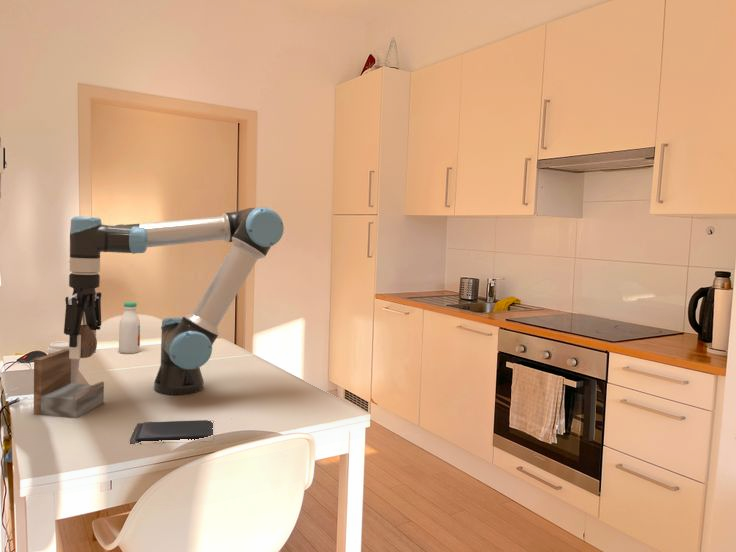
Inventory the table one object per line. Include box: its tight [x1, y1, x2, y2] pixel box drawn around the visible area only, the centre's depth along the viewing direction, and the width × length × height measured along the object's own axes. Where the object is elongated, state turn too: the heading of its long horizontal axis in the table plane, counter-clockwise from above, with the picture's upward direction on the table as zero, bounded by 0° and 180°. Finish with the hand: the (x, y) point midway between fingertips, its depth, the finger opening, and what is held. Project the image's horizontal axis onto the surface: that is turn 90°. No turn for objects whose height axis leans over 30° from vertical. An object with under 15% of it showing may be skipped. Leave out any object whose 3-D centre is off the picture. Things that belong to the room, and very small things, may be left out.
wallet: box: [129, 419, 214, 445], centre depth 146 cm, size 20×2×15 cm
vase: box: [79, 324, 98, 359], centre depth 158 cm, size 7×7×9 cm
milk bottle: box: [118, 301, 141, 354], centre depth 228 cm, size 8×8×20 cm
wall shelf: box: [33, 349, 105, 419], centre depth 159 cm, size 12×14×15 cm
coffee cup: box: [46, 340, 81, 384], centre depth 173 cm, size 10×10×15 cm
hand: (82, 355), depth 158 cm, fingers closed on vase, 7 cm apart
